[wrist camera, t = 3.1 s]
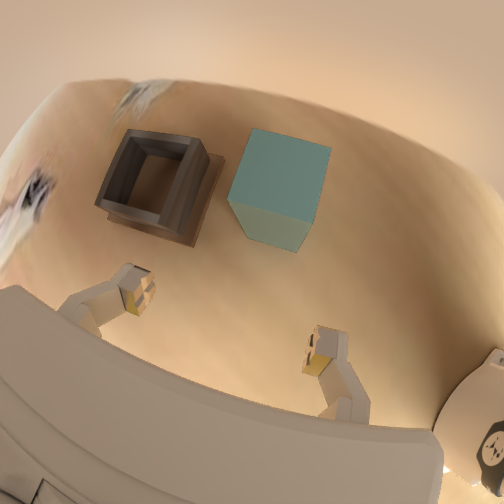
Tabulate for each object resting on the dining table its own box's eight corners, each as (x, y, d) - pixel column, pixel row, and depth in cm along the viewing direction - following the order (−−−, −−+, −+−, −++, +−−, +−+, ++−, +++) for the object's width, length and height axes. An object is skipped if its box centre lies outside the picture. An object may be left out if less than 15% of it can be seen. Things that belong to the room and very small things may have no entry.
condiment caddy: (224, 160, 29) (214, 134, 23) (193, 247, 28) (174, 237, 22) (142, 145, 30) (122, 123, 24) (111, 221, 29) (84, 208, 23)
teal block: (309, 205, 27) (331, 148, 15) (296, 252, 27) (312, 223, 15) (262, 192, 28) (252, 128, 16) (247, 238, 27) (226, 199, 15)
